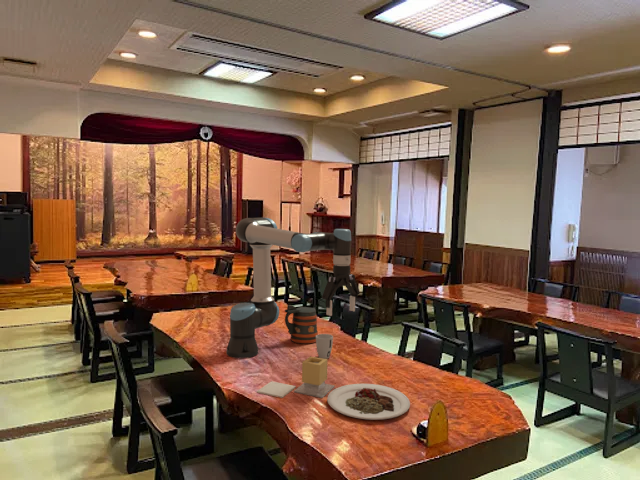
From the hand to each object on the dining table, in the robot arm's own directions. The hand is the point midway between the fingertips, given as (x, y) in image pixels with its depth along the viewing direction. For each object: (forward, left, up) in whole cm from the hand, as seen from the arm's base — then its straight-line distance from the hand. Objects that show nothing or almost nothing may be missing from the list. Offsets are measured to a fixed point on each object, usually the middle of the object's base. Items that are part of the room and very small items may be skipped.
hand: (340, 313), depth 206 cm
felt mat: (-13, -33, -25) cm, 43 cm away
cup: (-12, +11, -25) cm, 30 cm away
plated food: (+23, -29, -25) cm, 45 cm away
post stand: (0, -26, -25) cm, 36 cm away
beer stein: (-33, +29, -25) cm, 51 cm away
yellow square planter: (0, -26, -21) cm, 34 cm away
